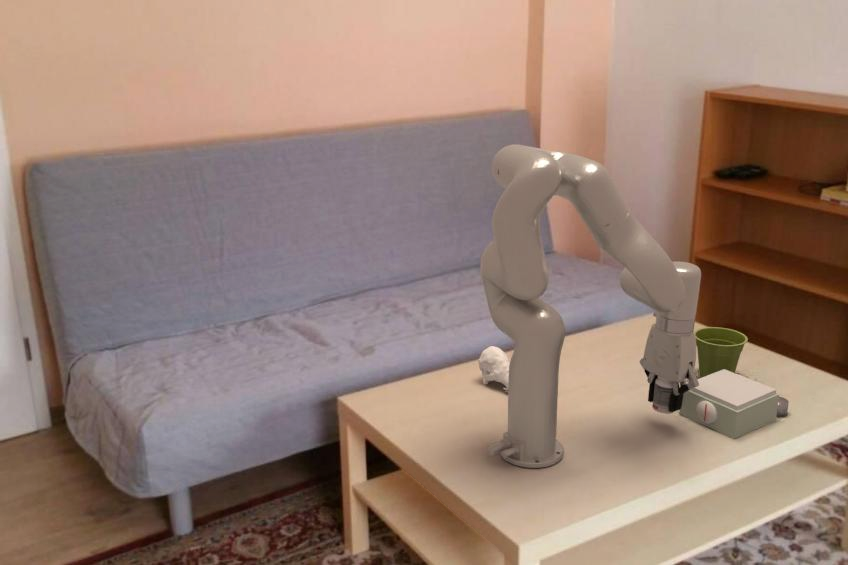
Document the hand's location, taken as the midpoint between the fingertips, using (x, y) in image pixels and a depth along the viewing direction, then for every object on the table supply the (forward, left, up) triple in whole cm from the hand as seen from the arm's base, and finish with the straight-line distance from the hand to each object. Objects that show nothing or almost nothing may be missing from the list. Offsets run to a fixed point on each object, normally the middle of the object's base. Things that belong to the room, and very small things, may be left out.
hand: (664, 404), depth 184 cm
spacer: (+24, -10, -5) cm, 27 cm away
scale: (+14, -5, -5) cm, 16 cm away
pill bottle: (0, 0, -1) cm, 1 cm away
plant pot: (+27, +8, -5) cm, 29 cm away
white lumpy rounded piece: (-15, +35, -5) cm, 38 cm away
